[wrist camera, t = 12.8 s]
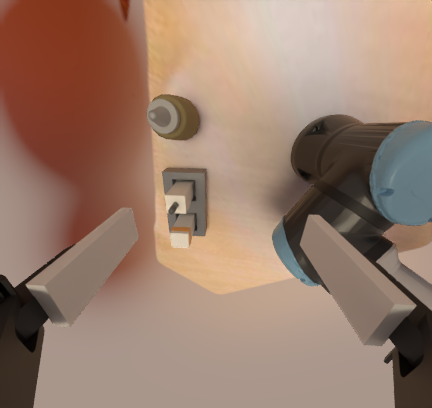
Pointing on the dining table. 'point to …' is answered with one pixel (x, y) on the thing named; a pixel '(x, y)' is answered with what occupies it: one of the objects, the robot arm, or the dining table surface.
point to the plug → (183, 230)
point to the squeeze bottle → (173, 117)
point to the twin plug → (180, 196)
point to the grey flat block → (198, 200)
